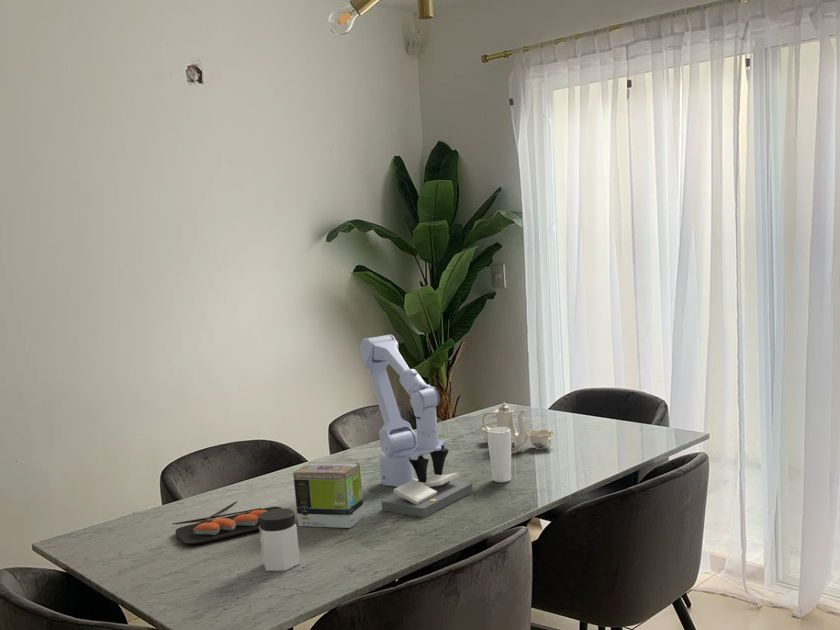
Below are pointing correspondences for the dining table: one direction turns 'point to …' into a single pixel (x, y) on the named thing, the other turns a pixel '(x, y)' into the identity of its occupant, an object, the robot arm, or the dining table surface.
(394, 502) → the switch panel
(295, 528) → the jar
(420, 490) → the switch
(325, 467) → the tea box
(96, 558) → the dining table surface
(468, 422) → the dining table surface
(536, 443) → the chinaware
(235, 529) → the sushi plate
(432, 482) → the switch
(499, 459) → the drinking glass
